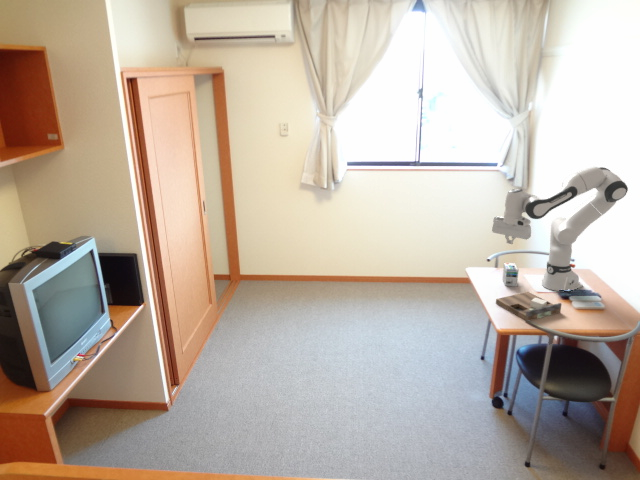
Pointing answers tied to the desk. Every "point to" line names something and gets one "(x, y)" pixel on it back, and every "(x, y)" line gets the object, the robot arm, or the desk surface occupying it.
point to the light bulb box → (510, 274)
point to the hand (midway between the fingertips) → (509, 243)
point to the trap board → (527, 306)
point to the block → (538, 303)
